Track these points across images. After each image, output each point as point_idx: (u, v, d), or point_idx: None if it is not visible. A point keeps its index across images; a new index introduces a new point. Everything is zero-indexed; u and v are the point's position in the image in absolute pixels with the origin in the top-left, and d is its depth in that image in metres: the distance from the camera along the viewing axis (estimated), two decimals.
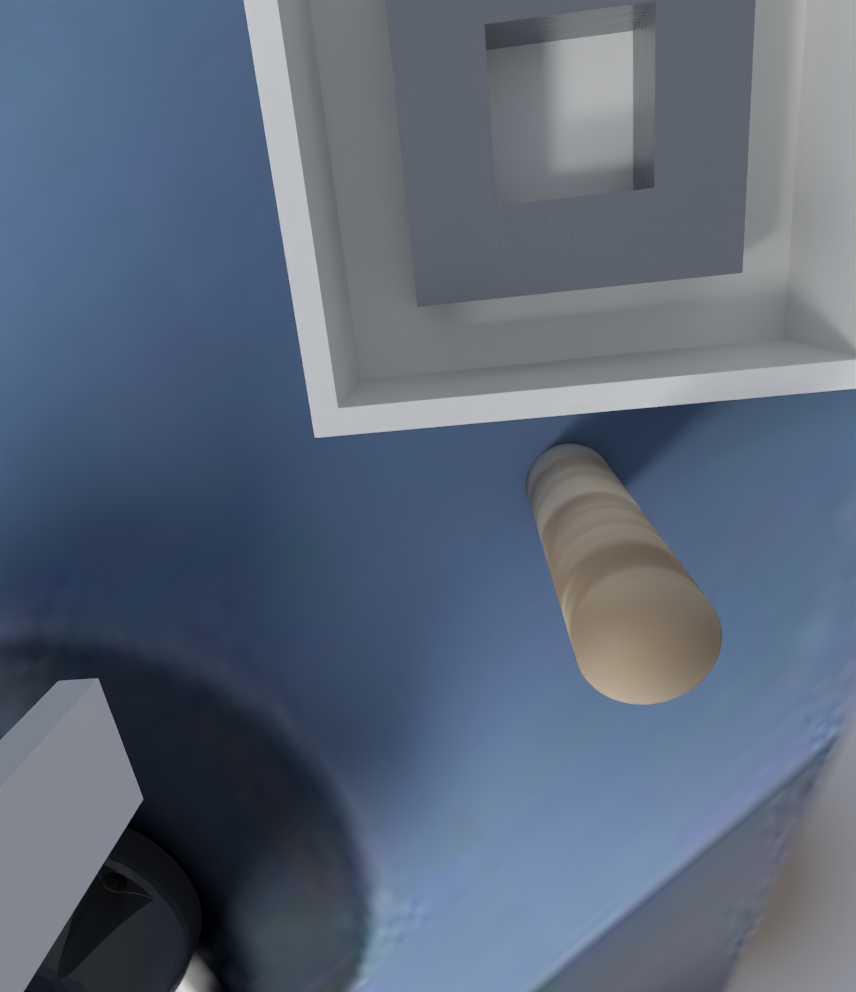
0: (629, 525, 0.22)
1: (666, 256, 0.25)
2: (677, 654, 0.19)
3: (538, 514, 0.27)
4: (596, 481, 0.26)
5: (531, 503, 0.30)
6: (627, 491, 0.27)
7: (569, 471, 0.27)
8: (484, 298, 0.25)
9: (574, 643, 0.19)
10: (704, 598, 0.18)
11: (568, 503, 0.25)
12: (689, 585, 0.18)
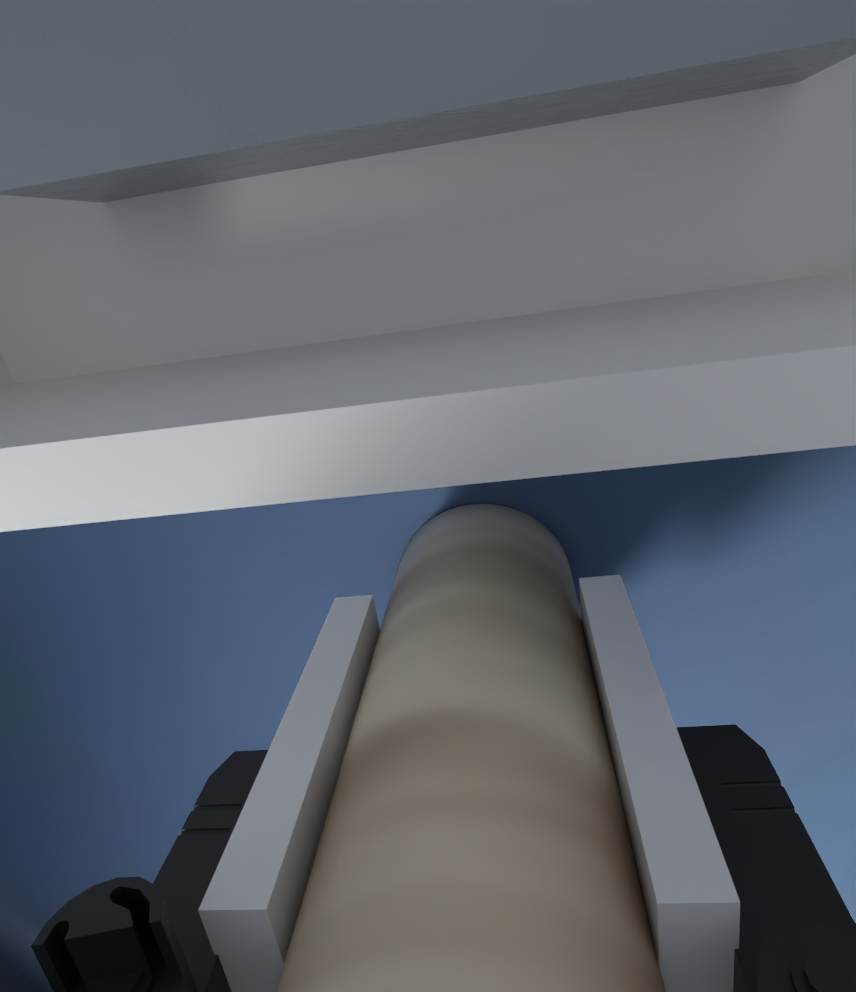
0: (491, 974, 0.05)
1: None
2: None
3: None
4: (480, 652, 0.10)
5: None
6: (572, 664, 0.10)
7: (434, 602, 0.11)
8: (154, 160, 0.09)
9: None
10: None
11: (379, 739, 0.09)
12: None
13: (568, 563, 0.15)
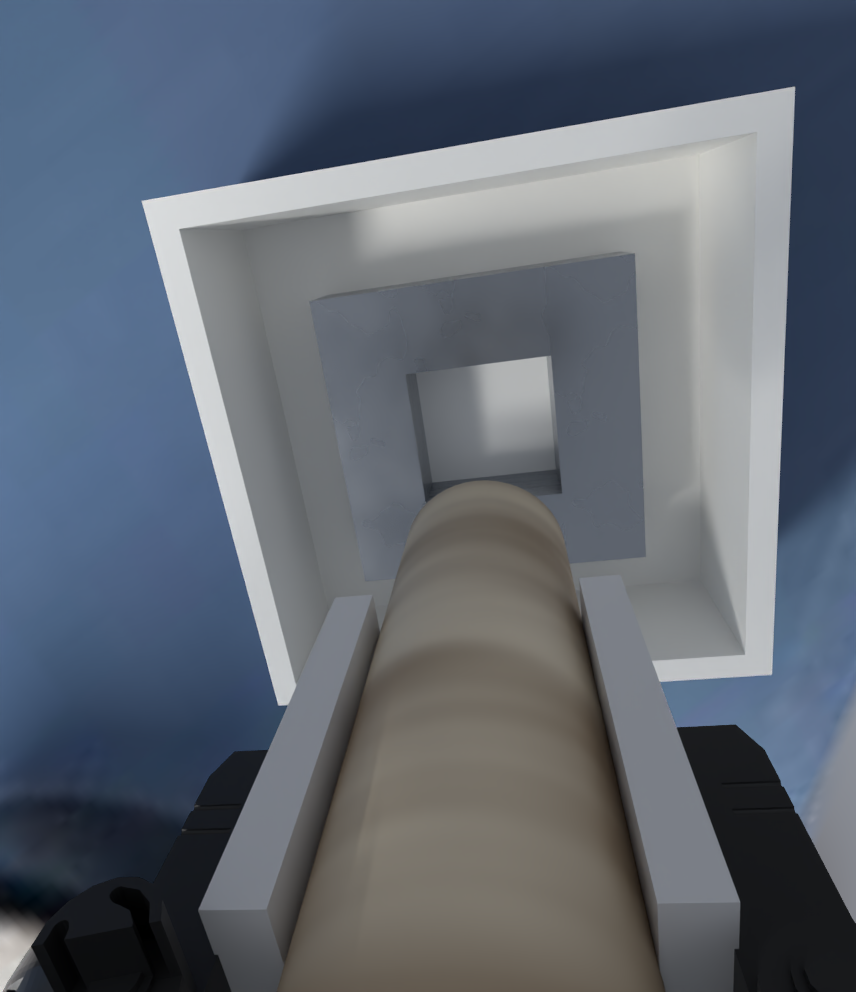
0: (492, 821, 0.07)
1: (577, 544, 0.28)
2: None
3: None
4: (481, 598, 0.11)
5: None
6: (562, 612, 0.12)
7: (442, 560, 0.13)
8: None
9: None
10: None
11: (395, 668, 0.10)
12: None
13: (562, 534, 0.16)
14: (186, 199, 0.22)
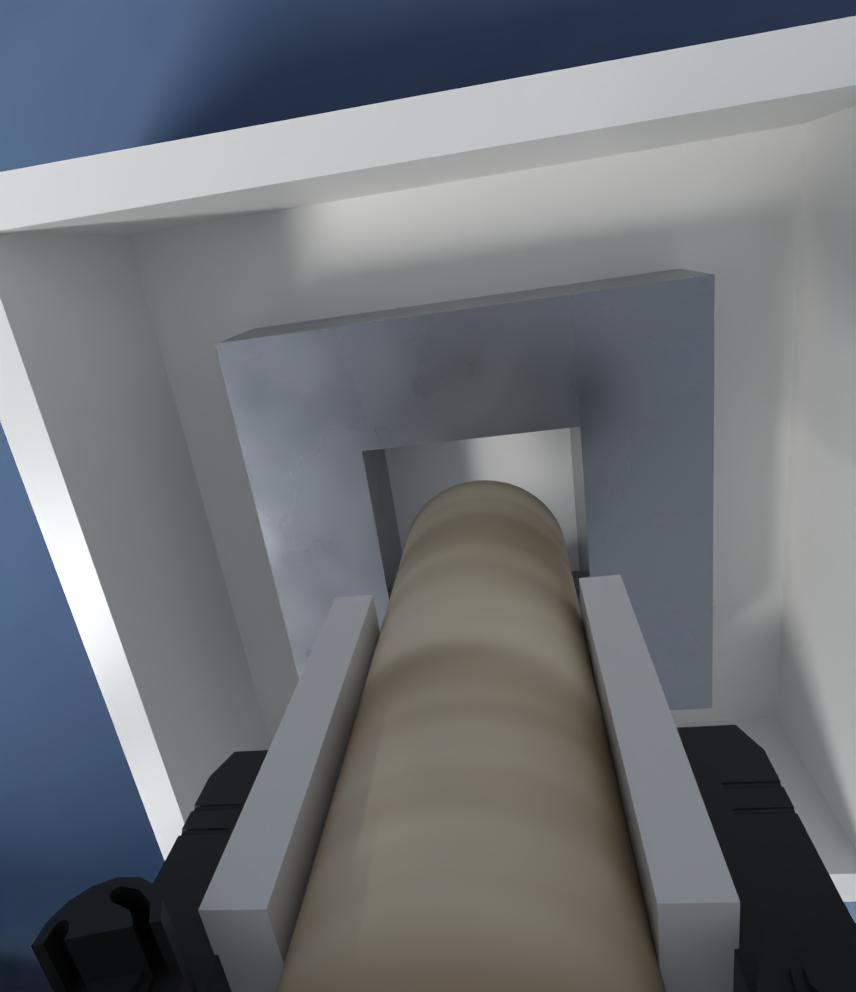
0: (492, 822, 0.07)
1: None
2: None
3: None
4: (481, 598, 0.11)
5: None
6: (562, 611, 0.12)
7: (441, 560, 0.13)
8: None
9: None
10: None
11: (395, 668, 0.10)
12: None
13: (562, 534, 0.16)
14: None
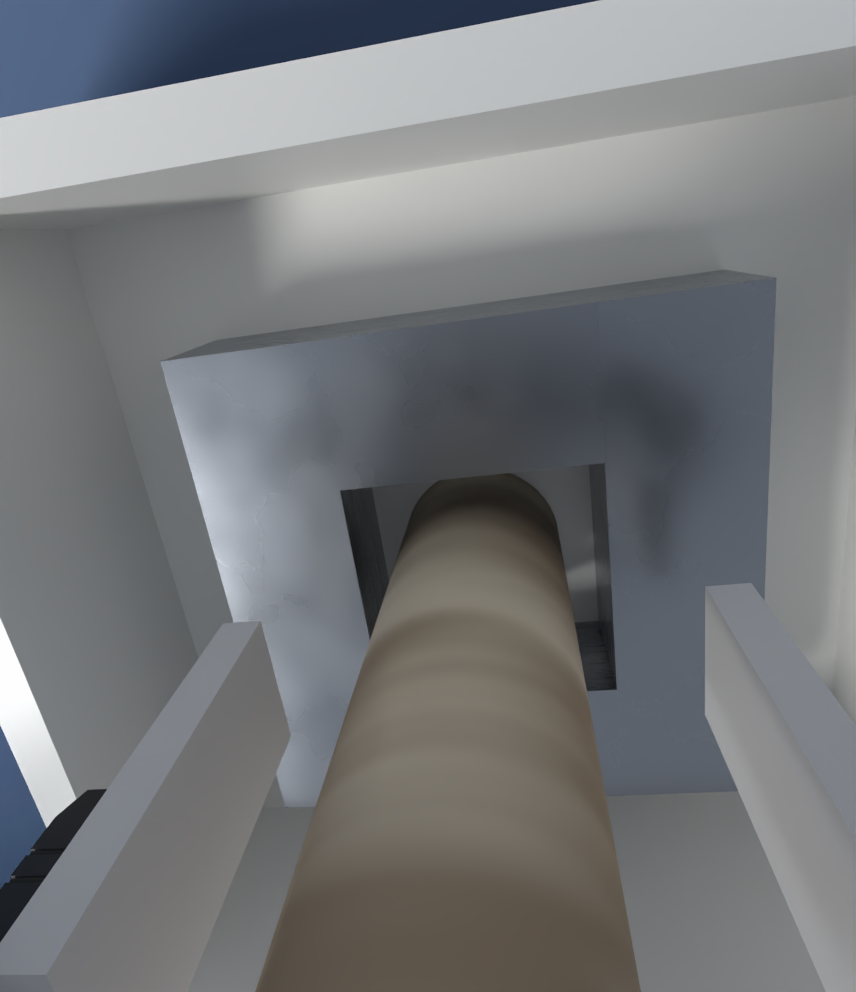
0: (474, 757, 0.08)
1: (639, 767, 0.16)
2: None
3: None
4: (473, 572, 0.12)
5: None
6: (549, 587, 0.13)
7: (438, 540, 0.14)
8: None
9: None
10: None
11: (393, 633, 0.11)
12: None
13: (555, 520, 0.17)
14: None
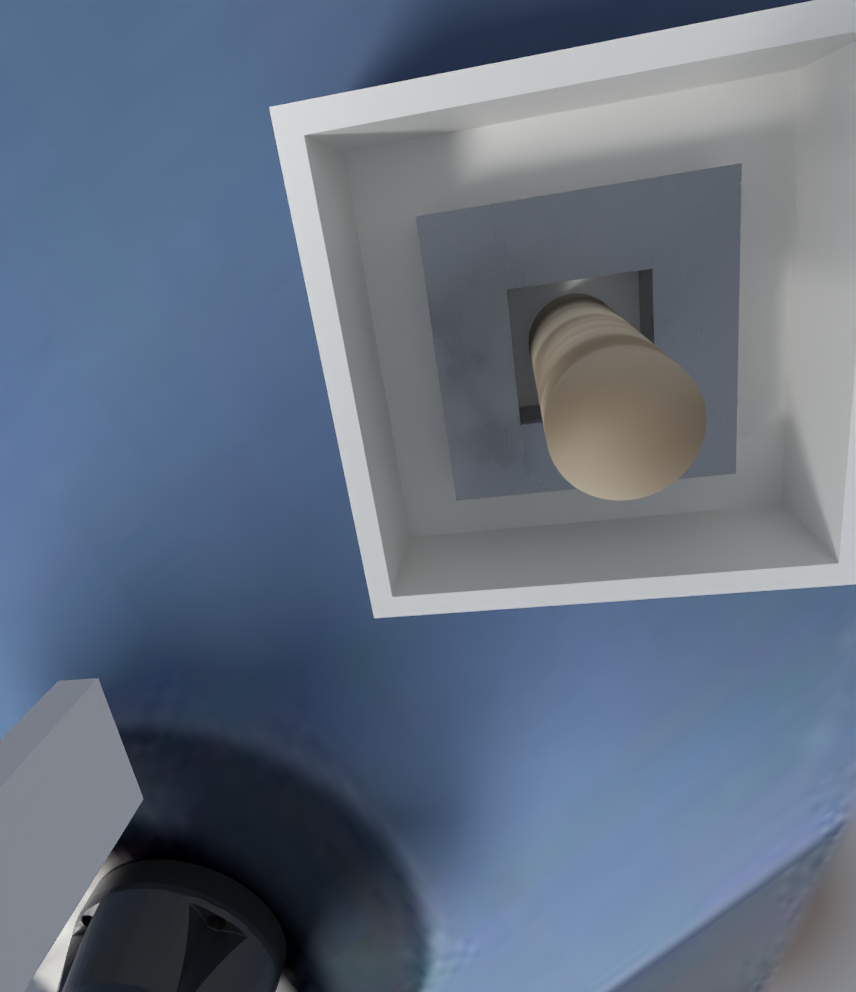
0: (616, 327, 0.20)
1: None
2: (657, 439, 0.17)
3: (533, 354, 0.26)
4: (592, 309, 0.24)
5: (530, 353, 0.28)
6: None
7: (566, 308, 0.26)
8: (512, 494, 0.30)
9: (545, 432, 0.18)
10: (685, 371, 0.17)
11: (559, 327, 0.23)
12: (668, 357, 0.17)
13: None
14: (313, 104, 0.22)
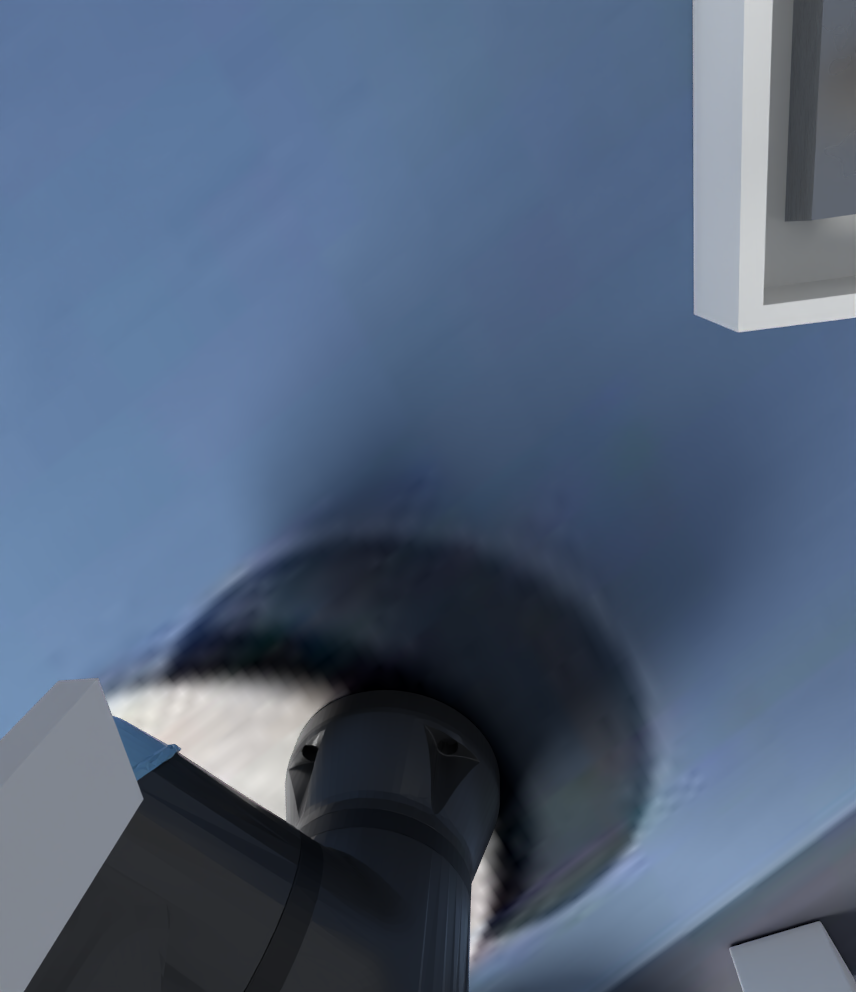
0: None
1: None
2: None
3: None
4: None
5: None
6: None
7: None
8: None
9: None
10: None
11: None
12: None
13: None
14: None
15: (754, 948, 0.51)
